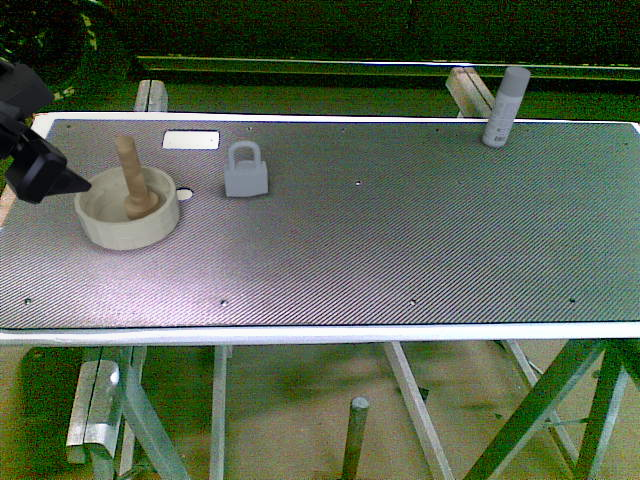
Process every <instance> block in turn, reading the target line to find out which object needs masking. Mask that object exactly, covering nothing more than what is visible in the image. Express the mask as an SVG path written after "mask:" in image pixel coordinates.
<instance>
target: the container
mask: <svg viewBox="0 0 640 480" xmlns="http://www.w3.org/2000/svg"><path fill="white" fill-rule="evenodd" d="M531 75H532V72H531V71H530V70H529V69H527V68H524V67H521V66H515V65H511V66H508V67H507V68H506V69H505V72H504V74H503V77H502V80H501V82H500V85H499V88H498V90H497V93H496V96H495V99H494V102H493V105H492V108H491V111H490V113H489V116H488V119H487V123H486V125H485V128H484V131H483V134H482V137H481V142H482V143H483V144H484V145H486V146H488V147H490V148H497V149H498V148H503V147H504V146H505V144H506V142H507V140H508V137H509V135H510V132H511V129H512V127H513V124H514V122H515V119H516V116H517V114H518V111H519V109H520V106H521V103H522V101H523V99H524V95H525V92H526V89H527V86H528V84H529V81H530V78H531Z"/></svg>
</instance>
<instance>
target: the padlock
mask: <svg viewBox="0 0 640 480" xmlns="http://www.w3.org/2000/svg"><path fill="white" fill-rule="evenodd" d="M243 148H248V149H251V150H252V152H253V160H246V159H245V160H239V161H236V158H235V153H236V150H239V149H243ZM226 156H227V163H223V165H222V169H223V177H224V186H225V196H226V197H228V198H229V197H233V198H234V197H237V198H238V197H240V198H248V197H253V196H259V195H263V194H268V193H269V184H268V183H269V182H268V181H269V180H268V168H267V167H268V166H267V163H266V161H265V160H262V157H261V148H260V146H259V145H258V144H257V143H256V142H254V141H252V140H246V139H245V140H238V141H234V142H233V143H231V144H230V145H229V147H228V149H227V155H226Z"/></svg>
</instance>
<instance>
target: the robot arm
mask: <svg viewBox="0 0 640 480" xmlns="http://www.w3.org/2000/svg"><path fill="white" fill-rule="evenodd" d="M55 100H56V96H55V94H54V93H53V92H52V91H51V90H50V88H49V87H48V86H47V85H46V84H45V82H44V81H43V80H42V79H41V78H40V77H39V75H38V74H37V73H36V72H35V71H34V70H33V69H32V68H31V67H29V66H28V65H27V64H26V63H20V62H19V61H16V62H14V65H13V63H10V62H8V61H6V60H4V59H2V58H0V162H1V161H3V160H4V161H5V160H7V159H8V158H9V157H11V158H12V159H13V160H12V162H11V163H10V165H9V166H8V168H7V169H6V171H4V173H3V177H4V179H5V182H6V185H7V186H8V187H9V188H10V190H11V192H12V193H13V194H14V195H15V197H16V198H17V199H18V200H20V201H23V202H25V203H27V204H31V205H34V206H37V205H40V204H41V202H42V201H44V198H47V197H52V196H57V195H68V194H76V193H80V192H88V191H89V190H90V188H91V187H92V184H91V183H90V182H88V181H87V180H88V179H86V178H84V177H82V175H80V174H78V173H77V172H75V171H74V170H73V169H71V168H69V167H68V158H67V157H66V155H65V154H64V153H63V152H62V151H61V150H60V149H59V148H58V147H57V146H54V145H53V144H52V143H51V142H49V141H48V140H47V139H46V138H44V137H43V136H41V135H40V134H39V133H38V132H37V131H36V130H34V129H33V128H31V127H30V126H29V125H28V124H27V121H26V120H27V119H28V118H30V117H31V116H33V115H34V114H36V113H37V112H39V111H40V110H41V109H43V108H44V107H48V106H50V105H52V104H53V103H54V102H55Z"/></svg>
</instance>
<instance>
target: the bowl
mask: <svg viewBox="0 0 640 480" xmlns="http://www.w3.org/2000/svg"><path fill="white" fill-rule="evenodd" d="M140 165H141V169H142V173H143V177H144V180H145V184H146V188H147V191H151V192H154V193H155V194H156V195H157V197H158V200H159V204H160V209H158V210H157V211H156V212H154V213H152V214H150V215H148V216H146V217H144V218H141V219H138V220H134V221H131V220H130V219H128V217H127V214H126V211H125V208H124V204H123V202H124V199H125V198H126V197H127V196H128V195H129V190H128V187H127V183H126V180H125V177H124V173H123V170H122V166H121V165H120V166H116V167H111V168H108V169H105V170H103V171H101V172H98V173H96V174H95V175H93V176H91V177H90V178H89V179H86V180H87V181H88V182H90V183H91V184H92V187H91V188H90V190H89V191H88V192H80V193H75V196H74V199H73V204H74V209H75V212H76V214H77V216H78V220H79V221H80V224H81V227H82V230H83V231H84V234H85V236H86V237H87V238H88V239H89V240H90V241H91V242H92V243H93V244H95V245H97V246H100V247H102V248H104V249H108V250H115V251H129V250H130V251H131V250H139V249H141V248H145V247H149V246H151V245H153V244H156V243H157V242H160V241H161V240H163V239H165V238H166V237H167V236H168V235H169V234H170V233H171V232H173V230H175V228H176V226H177V225H178V223H179V221H180V218H181V206H180V202H179V196H178V192H177V191H178V190H177V186H176V184H175V182H174V179H173V178H172V177H171V176H170V175H169V174H168V173H166V171H164V170H162V169H160V168H157V167H155V166H149V165H144V164H140Z"/></svg>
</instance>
